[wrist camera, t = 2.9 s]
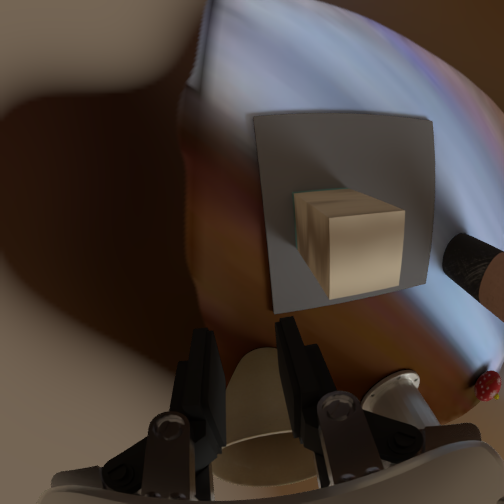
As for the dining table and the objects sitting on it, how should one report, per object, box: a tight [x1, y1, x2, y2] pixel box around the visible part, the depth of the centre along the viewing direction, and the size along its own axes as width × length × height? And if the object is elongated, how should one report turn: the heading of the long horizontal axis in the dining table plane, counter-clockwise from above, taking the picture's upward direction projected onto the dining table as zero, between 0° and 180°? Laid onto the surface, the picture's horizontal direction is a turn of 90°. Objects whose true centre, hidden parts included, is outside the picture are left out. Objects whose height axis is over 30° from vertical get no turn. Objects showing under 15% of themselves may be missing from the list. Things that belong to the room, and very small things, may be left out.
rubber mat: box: [253, 113, 435, 314], centre depth 29 cm, size 22×22×1 cm
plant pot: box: [211, 347, 317, 487], centre depth 28 cm, size 15×15×16 cm
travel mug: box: [443, 234, 504, 322], centre depth 23 cm, size 8×8×20 cm
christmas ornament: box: [475, 371, 501, 401], centre depth 43 cm, size 9×9×10 cm
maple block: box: [292, 188, 405, 300], centre depth 23 cm, size 6×6×11 cm
